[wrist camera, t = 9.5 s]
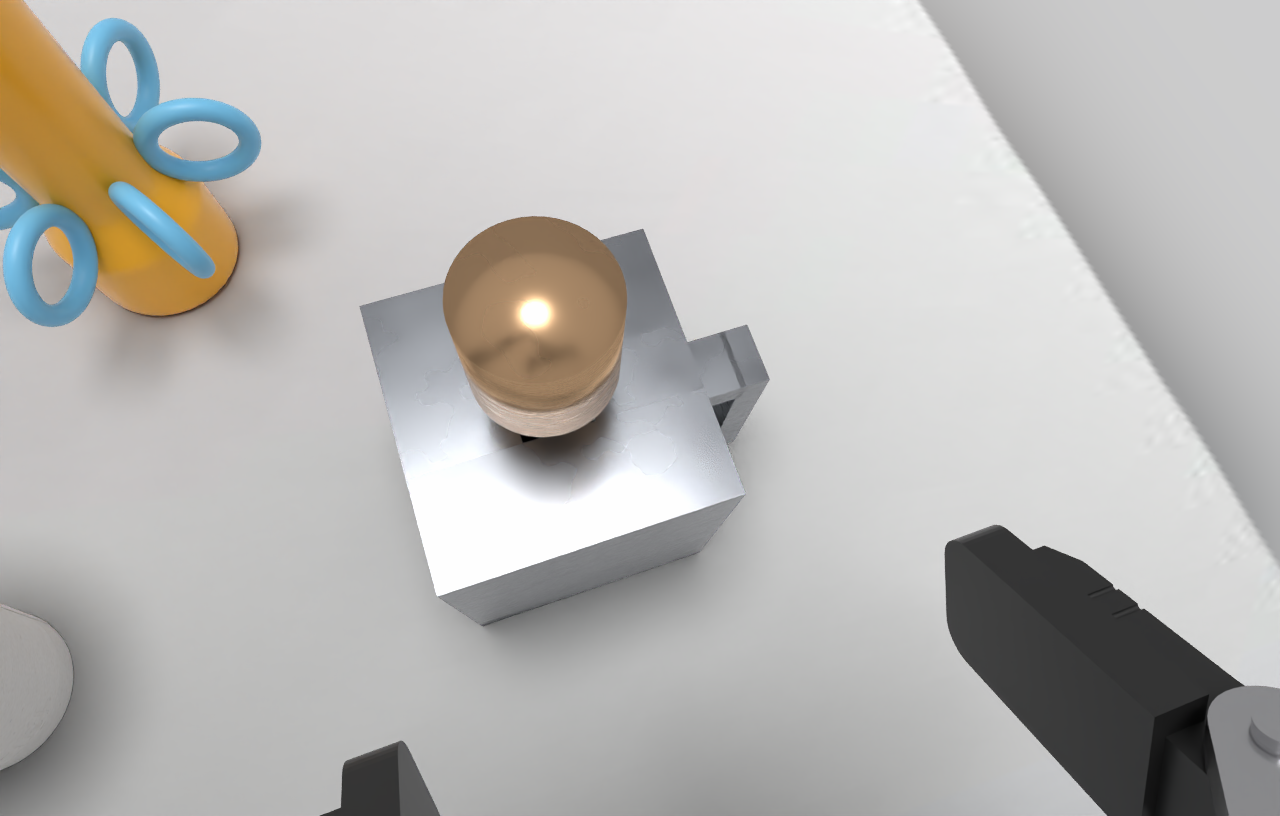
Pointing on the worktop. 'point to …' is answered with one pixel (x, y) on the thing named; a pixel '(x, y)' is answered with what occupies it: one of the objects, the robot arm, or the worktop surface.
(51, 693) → the dixie cup
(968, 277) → the worktop surface
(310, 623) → the worktop surface
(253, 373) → the worktop surface
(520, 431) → the plunger
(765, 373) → the frame
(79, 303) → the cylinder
